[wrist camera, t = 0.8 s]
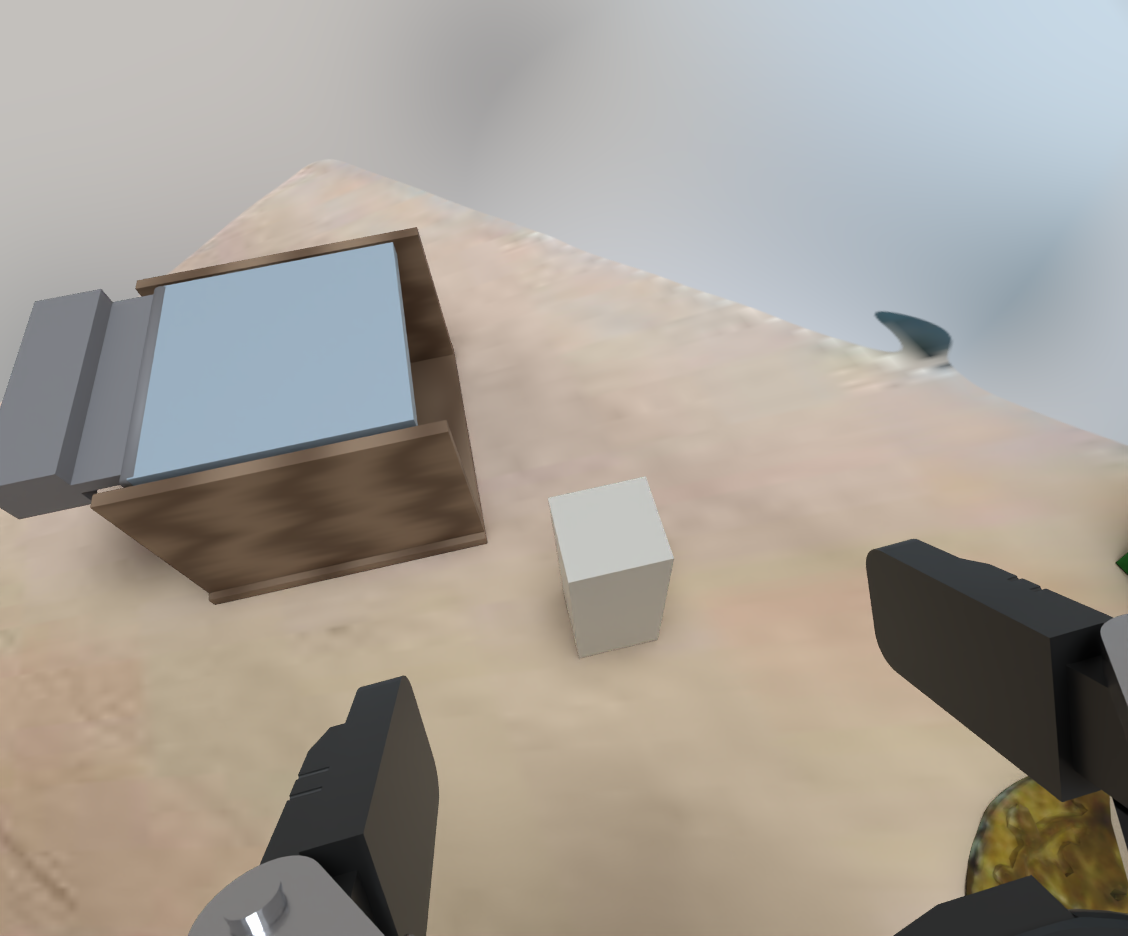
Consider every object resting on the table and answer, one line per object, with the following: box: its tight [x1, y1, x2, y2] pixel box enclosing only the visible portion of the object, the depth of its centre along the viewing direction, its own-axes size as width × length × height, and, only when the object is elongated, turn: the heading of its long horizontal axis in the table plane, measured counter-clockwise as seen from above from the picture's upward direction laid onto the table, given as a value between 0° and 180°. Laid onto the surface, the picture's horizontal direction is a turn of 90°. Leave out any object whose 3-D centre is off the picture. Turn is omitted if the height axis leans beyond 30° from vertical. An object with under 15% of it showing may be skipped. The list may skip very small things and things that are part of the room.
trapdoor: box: [0, 242, 418, 519], centre depth 38 cm, size 22×15×3 cm
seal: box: [966, 776, 1128, 913], centre depth 30 cm, size 9×5×15 cm
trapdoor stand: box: [90, 227, 487, 605], centre depth 43 cm, size 18×18×12 cm
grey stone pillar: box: [548, 476, 674, 658], centre depth 36 cm, size 5×5×12 cm
